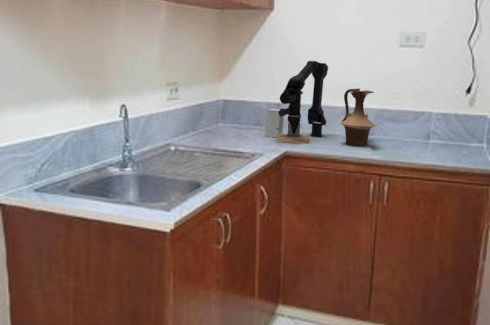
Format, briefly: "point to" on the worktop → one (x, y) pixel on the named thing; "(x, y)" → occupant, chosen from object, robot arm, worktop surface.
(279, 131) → the skincare box
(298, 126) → the dark grey rectangular prism
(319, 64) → the robot arm
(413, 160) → the worktop surface
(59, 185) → the worktop surface
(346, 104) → the pitcher
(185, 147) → the worktop surface
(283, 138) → the post socket
